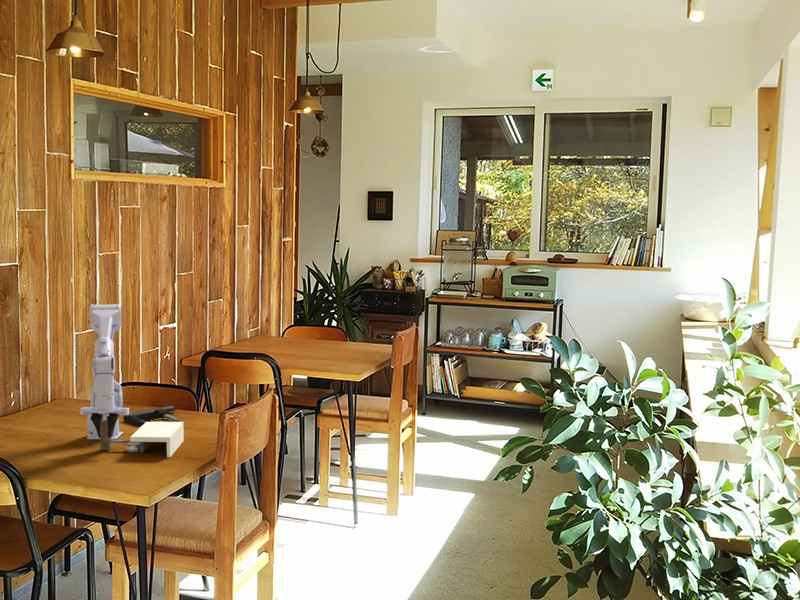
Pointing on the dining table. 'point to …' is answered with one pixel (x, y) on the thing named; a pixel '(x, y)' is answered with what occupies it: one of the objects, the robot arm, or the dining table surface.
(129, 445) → the grey round disc
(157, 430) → the white bridge block
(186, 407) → the dining table surface
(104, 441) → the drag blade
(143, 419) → the door handle
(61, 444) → the dining table surface
